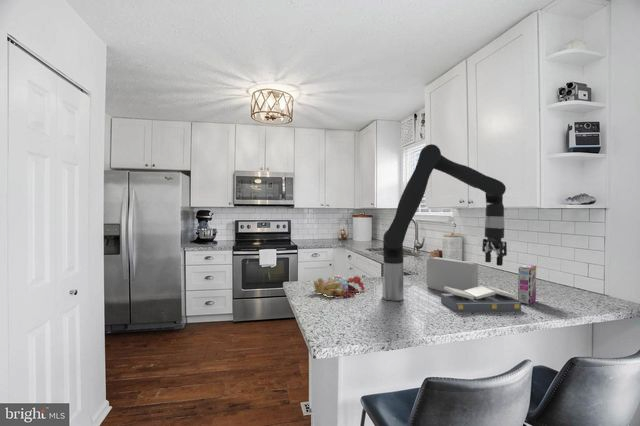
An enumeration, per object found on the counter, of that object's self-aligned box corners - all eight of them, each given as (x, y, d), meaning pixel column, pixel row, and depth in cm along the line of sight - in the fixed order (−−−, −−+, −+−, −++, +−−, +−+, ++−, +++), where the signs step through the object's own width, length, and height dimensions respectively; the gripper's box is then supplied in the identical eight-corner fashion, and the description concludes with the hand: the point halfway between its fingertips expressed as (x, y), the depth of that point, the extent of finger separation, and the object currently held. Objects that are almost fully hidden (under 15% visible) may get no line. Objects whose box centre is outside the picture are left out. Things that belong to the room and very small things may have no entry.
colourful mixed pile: (348, 302, 148) (348, 283, 148) (305, 296, 160) (305, 277, 160) (369, 291, 169) (369, 274, 169) (330, 286, 181) (330, 270, 181)
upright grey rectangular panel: (480, 296, 156) (480, 262, 157) (472, 298, 153) (472, 263, 153) (434, 286, 179) (434, 256, 179) (426, 287, 175) (426, 257, 175)
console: (455, 311, 132) (455, 299, 132) (440, 302, 146) (440, 291, 146) (521, 311, 133) (521, 298, 133) (500, 301, 147) (500, 290, 147)
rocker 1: (454, 294, 134) (455, 291, 134) (443, 288, 144) (444, 286, 144) (473, 299, 134) (474, 296, 134) (461, 293, 145) (462, 290, 145)
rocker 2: (476, 299, 134) (476, 296, 134) (464, 293, 145) (463, 290, 145) (495, 294, 134) (494, 291, 134) (481, 288, 145) (481, 285, 145)
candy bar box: (530, 305, 141) (530, 268, 141) (517, 303, 145) (517, 266, 145) (536, 300, 149) (536, 265, 149) (524, 298, 152) (524, 264, 152)
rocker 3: (498, 293, 135) (499, 291, 135) (484, 288, 145) (485, 285, 145) (517, 298, 135) (517, 296, 135) (501, 292, 145) (502, 290, 145)
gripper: (477, 226, 147) (476, 261, 147) (495, 227, 133) (494, 266, 133) (493, 226, 147) (492, 261, 147) (513, 227, 133) (512, 266, 133)
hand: (493, 263), depth 140 cm, fingers open, 8 cm apart
